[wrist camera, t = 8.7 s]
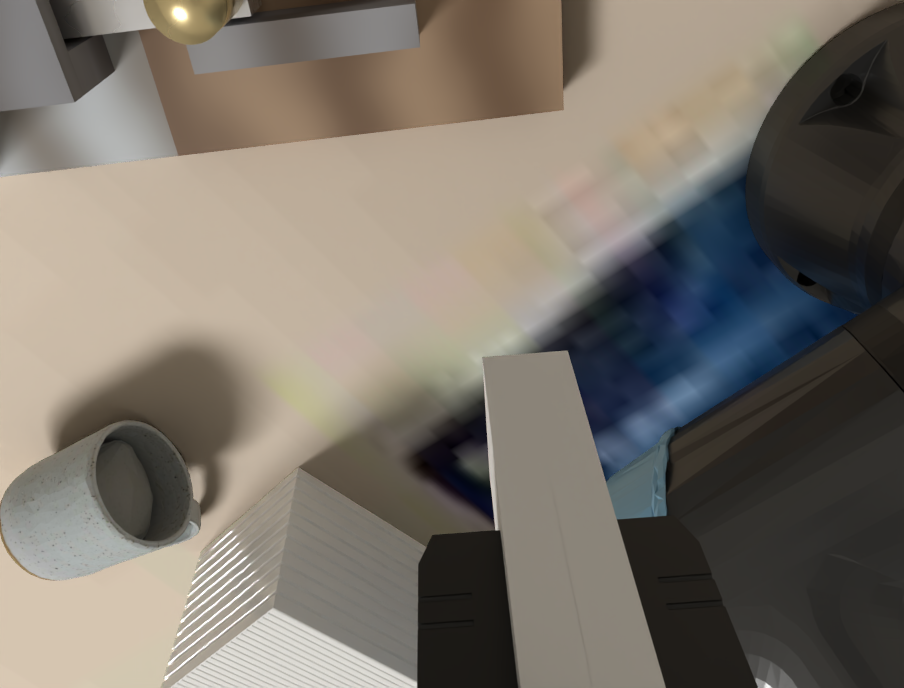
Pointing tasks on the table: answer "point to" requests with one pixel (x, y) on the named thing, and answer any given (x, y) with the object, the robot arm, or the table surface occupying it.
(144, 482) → the ceramic mug
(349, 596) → the stack of papers
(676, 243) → the table surface
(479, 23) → the lock board
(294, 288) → the table surface
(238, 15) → the bolt
